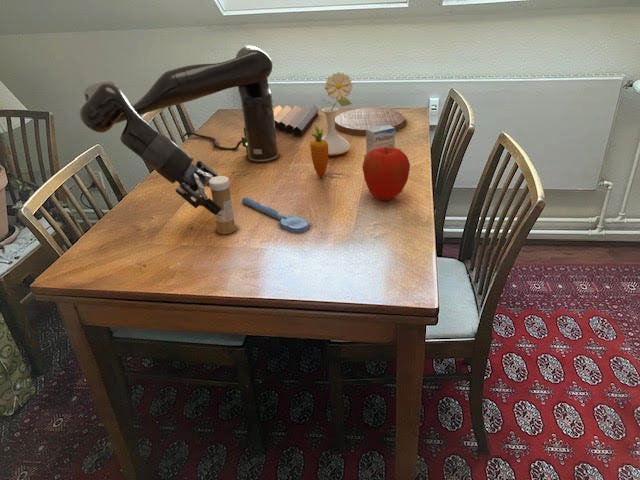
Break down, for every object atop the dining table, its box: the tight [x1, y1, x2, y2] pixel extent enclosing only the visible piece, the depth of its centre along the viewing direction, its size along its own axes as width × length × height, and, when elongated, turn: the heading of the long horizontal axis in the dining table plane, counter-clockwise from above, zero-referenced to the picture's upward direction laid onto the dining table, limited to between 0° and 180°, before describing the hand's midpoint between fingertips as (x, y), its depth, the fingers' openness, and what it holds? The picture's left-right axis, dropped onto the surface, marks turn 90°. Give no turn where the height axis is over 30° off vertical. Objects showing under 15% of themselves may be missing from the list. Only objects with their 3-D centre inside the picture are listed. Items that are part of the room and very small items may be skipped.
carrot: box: [309, 125, 329, 179], centre depth 147 cm, size 5×5×15 cm
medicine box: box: [365, 125, 396, 156], centre depth 161 cm, size 8×4×9 cm, turn 118°
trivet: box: [335, 107, 405, 136], centre depth 190 cm, size 25×25×2 cm
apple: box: [361, 147, 411, 201], centre depth 134 cm, size 12×12×14 cm
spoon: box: [241, 196, 309, 234], centre depth 132 cm, size 24×5×2 cm, turn 45°
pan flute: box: [273, 104, 319, 137], centre depth 194 cm, size 25×3×25 cm
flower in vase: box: [321, 71, 354, 156], centre depth 161 cm, size 13×11×25 cm
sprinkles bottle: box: [208, 175, 237, 235], centre depth 123 cm, size 5×5×13 cm
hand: (223, 203), depth 123 cm, fingers open, 8 cm apart
